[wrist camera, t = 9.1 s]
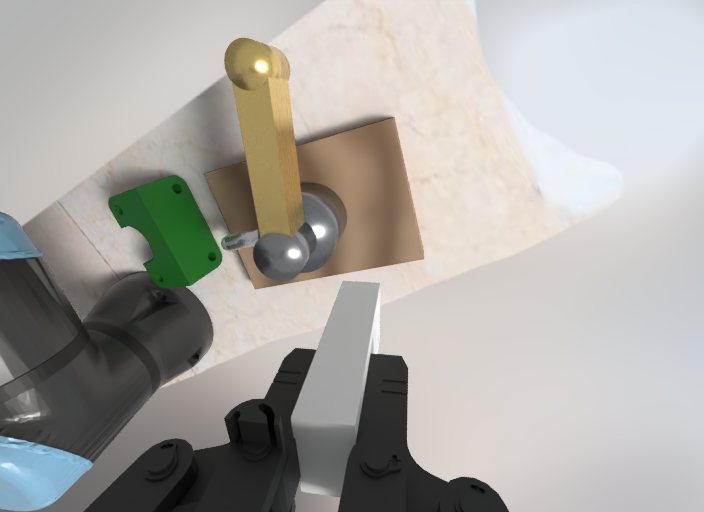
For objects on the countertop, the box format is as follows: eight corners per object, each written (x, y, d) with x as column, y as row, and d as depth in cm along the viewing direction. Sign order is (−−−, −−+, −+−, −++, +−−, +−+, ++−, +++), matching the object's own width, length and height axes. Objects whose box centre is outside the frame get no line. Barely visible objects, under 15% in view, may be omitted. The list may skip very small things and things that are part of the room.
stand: (261, 281, 42) (255, 289, 41) (214, 170, 37) (204, 173, 35) (423, 251, 37) (424, 259, 35) (394, 117, 32) (392, 118, 30)
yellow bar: (318, 260, 30) (305, 282, 27) (276, 259, 31) (257, 280, 27) (295, 44, 23) (273, 34, 20) (241, 49, 24) (210, 41, 21)
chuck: (248, 262, 39) (222, 288, 34) (223, 204, 37) (190, 222, 31) (355, 240, 36) (344, 265, 30) (335, 175, 33) (320, 190, 28)
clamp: (180, 191, 44) (101, 183, 36) (211, 181, 41) (133, 169, 33) (193, 283, 44) (117, 295, 36) (225, 279, 41) (150, 292, 33)
